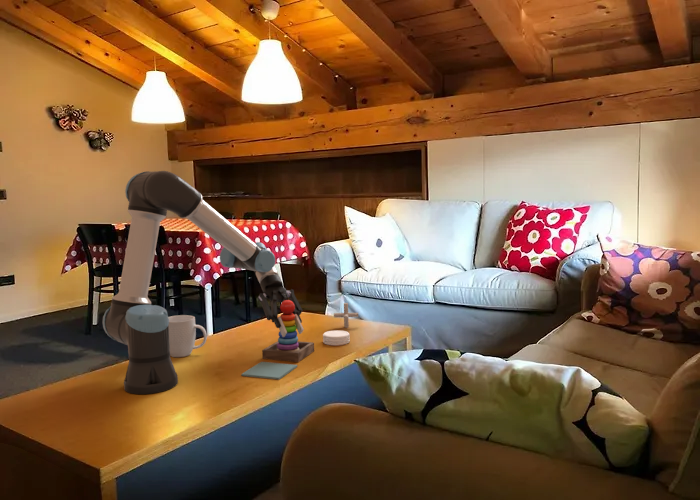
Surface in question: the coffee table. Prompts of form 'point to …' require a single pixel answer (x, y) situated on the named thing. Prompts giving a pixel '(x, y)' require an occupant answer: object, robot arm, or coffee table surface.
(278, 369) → the mat
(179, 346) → the mug
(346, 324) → the pipe connector
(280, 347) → the stacking toy
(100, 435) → the coffee table surface
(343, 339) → the white coaster stack
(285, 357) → the tray
